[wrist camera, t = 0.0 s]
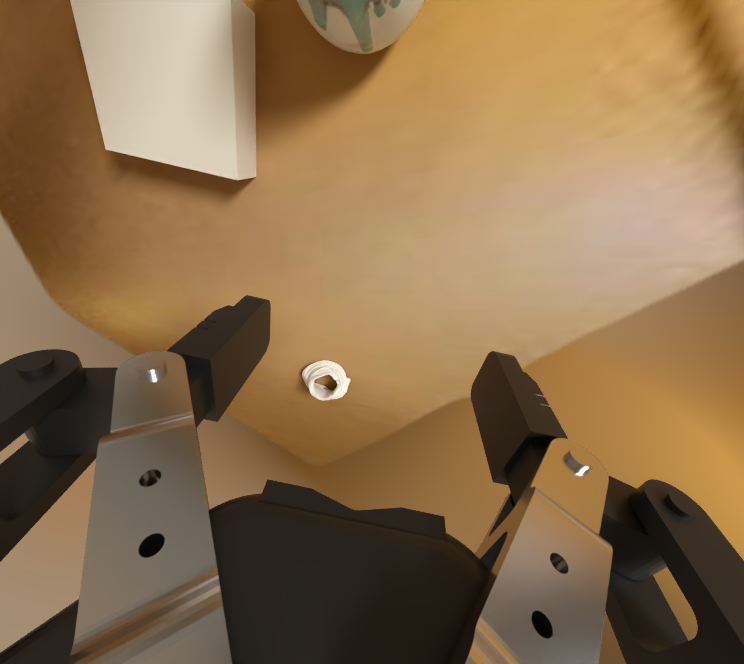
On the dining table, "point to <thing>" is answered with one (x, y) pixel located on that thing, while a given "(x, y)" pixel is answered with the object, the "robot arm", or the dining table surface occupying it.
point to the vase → (361, 21)
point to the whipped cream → (321, 370)
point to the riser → (174, 80)
